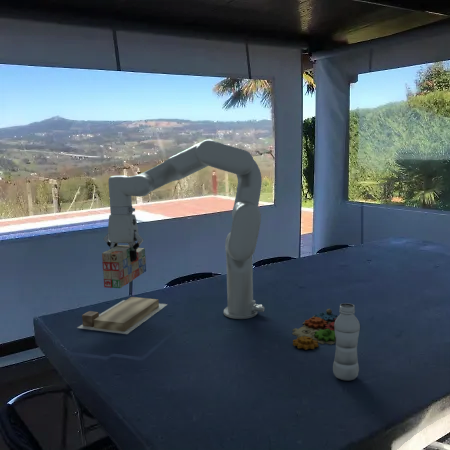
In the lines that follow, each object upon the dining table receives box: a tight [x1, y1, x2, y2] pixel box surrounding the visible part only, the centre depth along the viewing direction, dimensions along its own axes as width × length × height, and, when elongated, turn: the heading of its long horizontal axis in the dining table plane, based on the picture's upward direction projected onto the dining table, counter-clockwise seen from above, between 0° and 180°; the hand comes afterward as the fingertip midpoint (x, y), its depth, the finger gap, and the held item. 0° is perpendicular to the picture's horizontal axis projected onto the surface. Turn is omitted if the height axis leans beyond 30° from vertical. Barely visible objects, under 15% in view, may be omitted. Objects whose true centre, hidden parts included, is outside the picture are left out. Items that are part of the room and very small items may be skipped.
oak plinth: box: [94, 296, 160, 332], centre depth 166 cm, size 12×25×3 cm, turn 161°
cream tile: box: [76, 299, 168, 335], centre depth 168 cm, size 20×30×1 cm, turn 161°
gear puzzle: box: [291, 308, 338, 351], centre depth 150 cm, size 31×16×4 cm, turn 142°
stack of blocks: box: [101, 244, 147, 289], centre depth 164 cm, size 21×6×12 cm, turn 166°
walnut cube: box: [81, 310, 100, 327], centre depth 160 cm, size 4×4×4 cm
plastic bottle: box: [332, 302, 361, 381], centre depth 119 cm, size 6×7×20 cm
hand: (124, 259), depth 163 cm, fingers closed on stack of blocks, 6 cm apart
